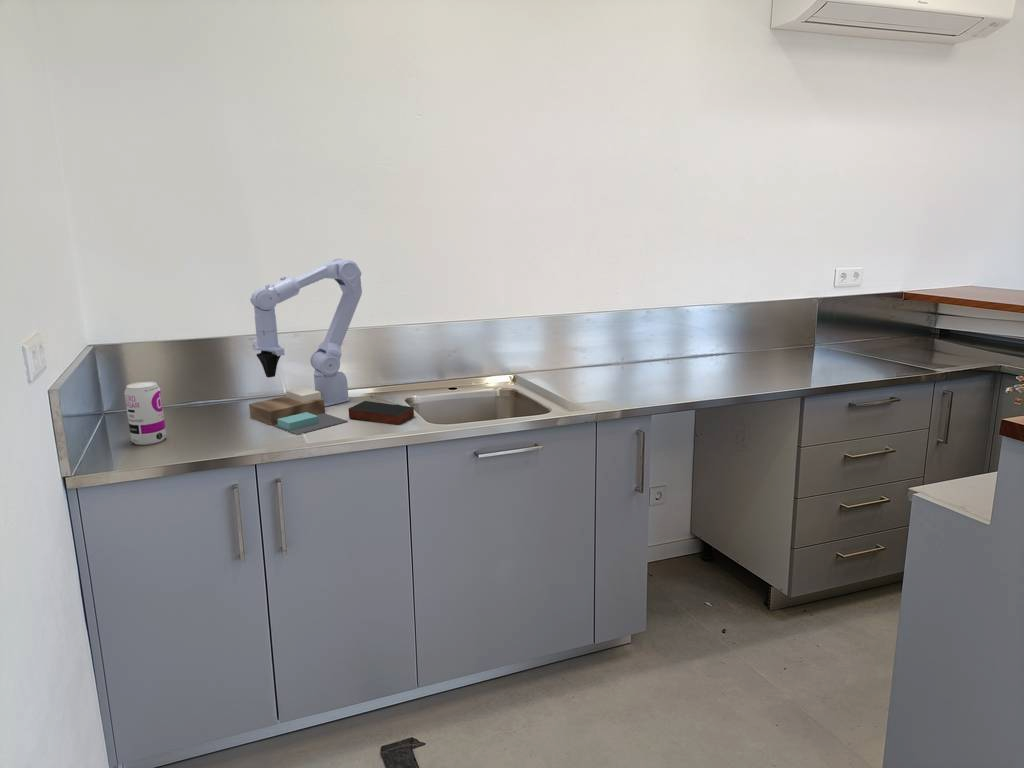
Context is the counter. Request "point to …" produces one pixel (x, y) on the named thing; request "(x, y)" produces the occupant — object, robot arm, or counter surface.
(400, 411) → the kitchen sponge
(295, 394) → the cream flat block
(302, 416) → the turquoise block
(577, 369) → the counter surface
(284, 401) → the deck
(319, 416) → the mat
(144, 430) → the supplement can
